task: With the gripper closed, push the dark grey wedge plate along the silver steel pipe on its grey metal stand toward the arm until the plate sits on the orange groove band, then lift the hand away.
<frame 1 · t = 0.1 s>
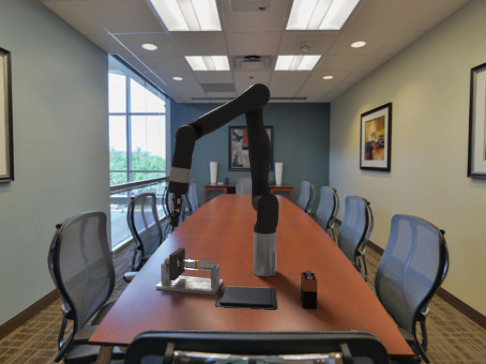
hand: (173, 224, 101), 22 cm above the table, tool pointing down, fingers open, 8 cm apart
battery: (308, 304, 89), on the table
pipe stand: (190, 285, 101), on the table
wallet: (247, 299, 93), on the table
dark grey wedge plate: (177, 263, 102), point 8 cm above the table, slide at 5.0 cm
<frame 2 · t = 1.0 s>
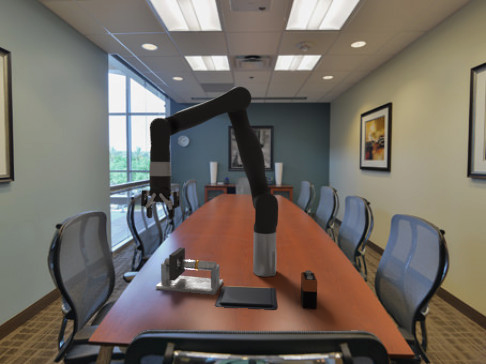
hand: (160, 218, 101), 24 cm above the table, tool pointing down, fingers open, 8 cm apart
nothing on the table moved.
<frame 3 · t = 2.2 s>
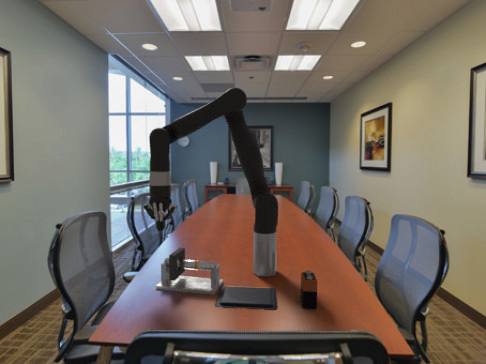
hand: (160, 230, 102), 20 cm above the table, tool pointing down, fingers closed
nothing on the table moved.
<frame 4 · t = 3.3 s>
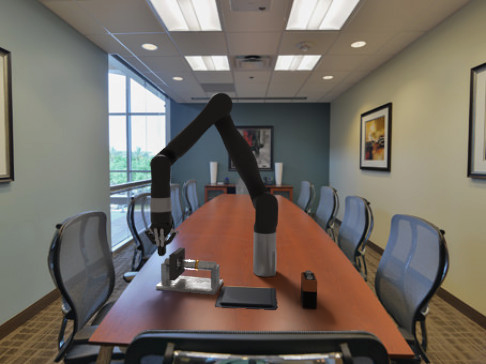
hand: (161, 255, 103), 10 cm above the table, tool pointing down, fingers closed
nothing on the table moved.
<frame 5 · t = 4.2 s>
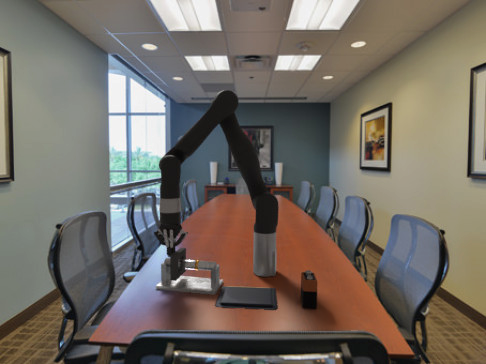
hand: (171, 256, 102), 10 cm above the table, tool pointing down, fingers closed
dark grey wedge plate: (178, 263, 101), point 8 cm above the table, slide at 4.6 cm, touching gripper
everything else where it was.
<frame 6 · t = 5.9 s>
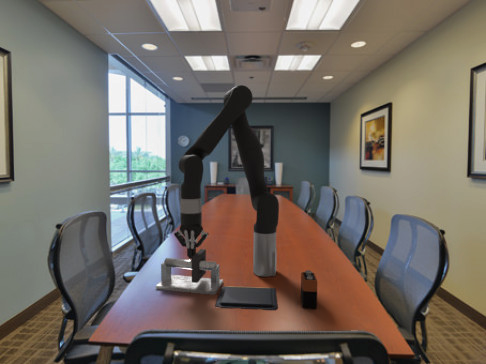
hand: (191, 257, 100), 10 cm above the table, tool pointing down, fingers closed
dark grey wedge plate: (199, 265, 100), point 8 cm above the table, slide at -3.4 cm, touching gripper
everything else where it was.
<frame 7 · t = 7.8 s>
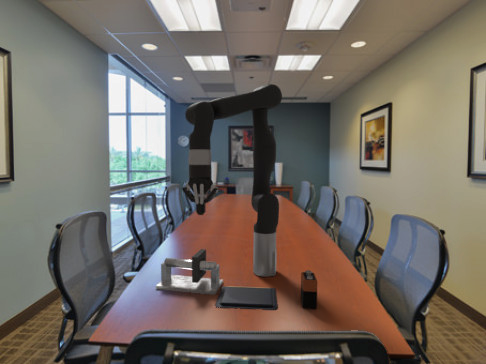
hand: (200, 214, 94), 27 cm above the table, tool pointing down, fingers closed
dark grey wedge plate: (199, 265, 100), point 8 cm above the table, slide at -3.5 cm
everything else where it was.
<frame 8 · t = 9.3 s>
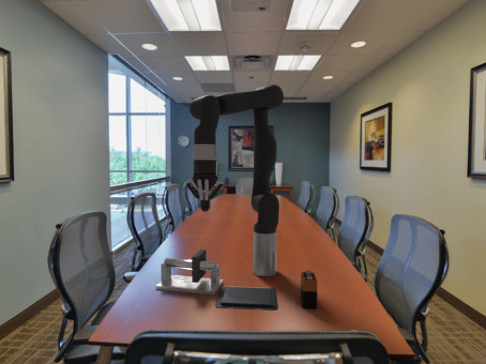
hand: (205, 211, 92), 29 cm above the table, tool pointing down, fingers closed
nothing on the table moved.
at the end: dark grey wedge plate slide at -3.5 cm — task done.
